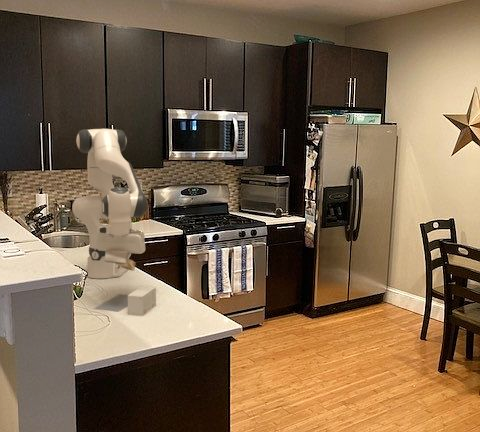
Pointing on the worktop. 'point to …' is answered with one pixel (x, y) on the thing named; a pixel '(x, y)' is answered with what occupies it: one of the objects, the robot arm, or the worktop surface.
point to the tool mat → (114, 303)
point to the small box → (141, 300)
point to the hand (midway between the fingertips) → (121, 262)
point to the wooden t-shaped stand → (120, 259)
